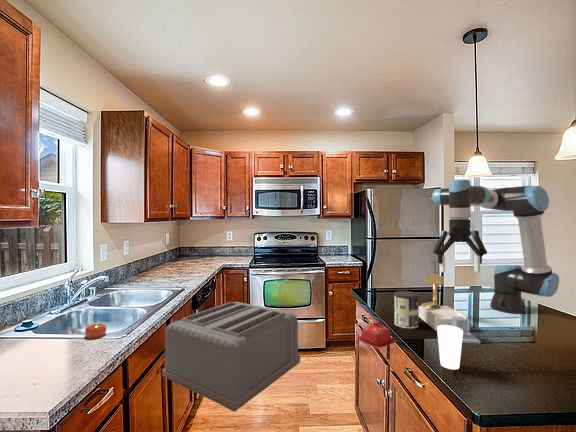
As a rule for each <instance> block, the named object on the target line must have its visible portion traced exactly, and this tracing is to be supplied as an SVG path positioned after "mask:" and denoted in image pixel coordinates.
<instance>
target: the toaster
mask: <svg viewBox="0 0 576 432" xmlns="http://www.w3.org/2000/svg"><path fill="white" fill-rule="evenodd" d="M298 321H299V320H298V318H297V316H296V315H295V314H294V313H292V312H289V311H283V310H278V309H273V308H269V307H265V306H260V305H254V304H249V303H245V302H240V301H229V302H226V303H224V304H220V305H217V306H215V307H214V306H213V307H211V308H209V309H206V310H203V311H200V312H197V313H193V314H190V315H187V316H185V317H181V319H180V320H176V321H175V322H172V323H169V324H168V325H167V326H166V327H165V330H164V368H163V369H161V376H162V378H165V379H168V380H169V381H171V382H173V383H175V384H177V385H179V386H182V387H183V388H186V389H187V390H189V391H191V392H193V393H195V394H197V395H200V396H201V397H204V398H206V399H207V400H210V401H211V402H214V403H217V404H219V405H220V406H222V407H224V408H225V409H228V410H229V411H232V412H237V411H238V410H239V409H240V408H242V407H244V405H246V404H247V403H249V402H250V401H251V400H252V399H254V398H255V397H256V396H257V395H259V394H260V393H262V392H263V391H265V389H267V388H269V386H271V385H273V384H274V383H275V382H276V381H278V380H279V379H280V378H281V377H283V376H284V375H286V373H288V372H289V371H291V370H292V369H294V368H295V367H296V366H297V365H299V364H300V362H301V355H300V354H299V322H298Z"/></svg>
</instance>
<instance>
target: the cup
mask: <svg viewBox="0 0 576 432" xmlns="http://www.w3.org/2000/svg"><path fill="white" fill-rule="evenodd" d="M436 332H437V342H438V352H439V353H438V355H439V362H440V363H439V364H440V366H441V367H443V368H446V369H448V370H459V369H460V365H461V364H460V363H461V355H462V346H463V343H462V338H463V330H462V329H461V328H458V327H456V326H451V325H439V326H437V331H436Z"/></svg>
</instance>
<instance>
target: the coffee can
mask: <svg viewBox="0 0 576 432" xmlns="http://www.w3.org/2000/svg"><path fill="white" fill-rule="evenodd" d="M393 295H394V303H393V304H394V314H393V315H394V323H393V324H394V325H395V326H397V327H398V328H403V329H409V330H410V329H411V330H412V329H417V328H418V327H419V293H417V292H414V291H411V290H409V291H408V290H397V291H394V293H393Z"/></svg>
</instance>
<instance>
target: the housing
mask: <svg viewBox="0 0 576 432" xmlns="http://www.w3.org/2000/svg"><path fill="white" fill-rule="evenodd" d="M452 317H463V318H465V319H466V320H467V332H470V323H471V322H470V321H471V320H470V319H469V317H468V316H467V315H465V314H464V313H462V312H460V311H458V309H453V308H452V307H450V306H447V305H439V304H437V306H429V307H423V306H421V305H418V318H420V319H421V320H422V321H423V322H425V323H426V324H427V325H428V326H430V327H431V328H432V329H433V330H434V331H436V332H437V326H439V325H451V326H452Z"/></svg>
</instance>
